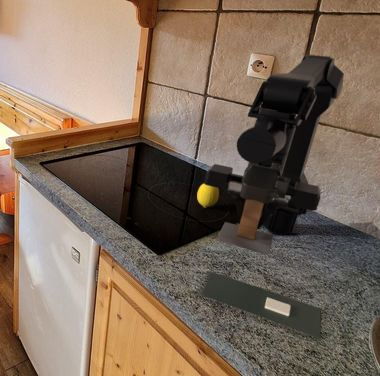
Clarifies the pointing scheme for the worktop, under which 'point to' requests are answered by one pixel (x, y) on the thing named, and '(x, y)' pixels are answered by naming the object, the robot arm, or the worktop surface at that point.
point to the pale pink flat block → (277, 306)
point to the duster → (248, 230)
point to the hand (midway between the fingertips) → (248, 225)
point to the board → (263, 303)
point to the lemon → (207, 195)
